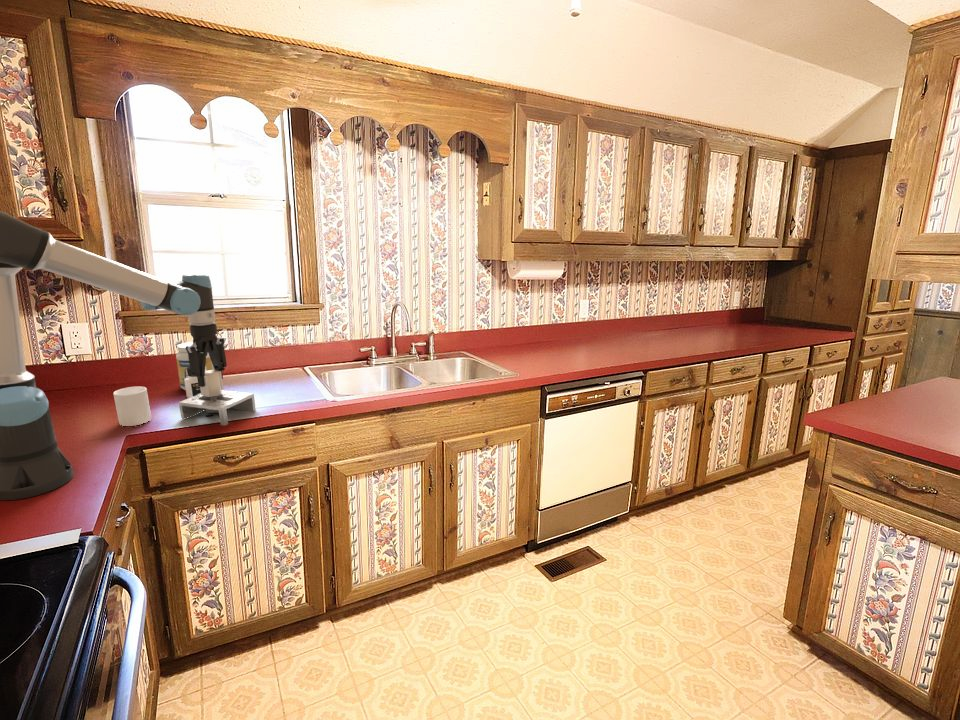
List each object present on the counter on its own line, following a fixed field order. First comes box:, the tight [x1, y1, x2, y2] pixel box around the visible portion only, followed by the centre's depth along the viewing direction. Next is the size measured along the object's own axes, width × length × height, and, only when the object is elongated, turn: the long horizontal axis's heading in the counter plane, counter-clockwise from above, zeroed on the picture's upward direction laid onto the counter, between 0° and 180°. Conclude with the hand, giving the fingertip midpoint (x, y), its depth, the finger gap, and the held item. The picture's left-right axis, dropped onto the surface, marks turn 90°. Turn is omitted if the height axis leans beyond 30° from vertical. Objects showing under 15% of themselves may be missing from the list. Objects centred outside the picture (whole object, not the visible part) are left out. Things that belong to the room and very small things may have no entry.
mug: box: [112, 386, 152, 427], centre depth 158 cm, size 9×12×11 cm
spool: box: [205, 369, 222, 414], centre depth 163 cm, size 5×5×13 cm
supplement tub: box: [175, 341, 215, 391], centre depth 190 cm, size 12×12×17 cm
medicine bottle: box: [184, 366, 206, 399], centre depth 180 cm, size 7×7×12 cm
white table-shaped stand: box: [178, 389, 256, 427], centre depth 164 cm, size 14×17×6 cm
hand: (212, 392), depth 163 cm, fingers closed on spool, 5 cm apart
